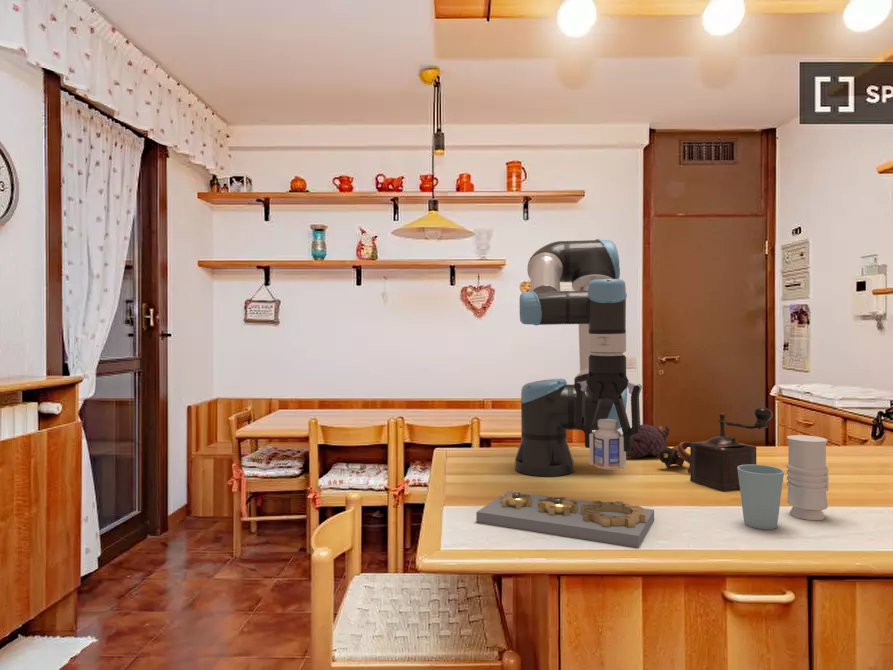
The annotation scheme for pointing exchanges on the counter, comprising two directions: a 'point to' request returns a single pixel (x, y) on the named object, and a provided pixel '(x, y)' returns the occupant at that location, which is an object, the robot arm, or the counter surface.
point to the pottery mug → (675, 455)
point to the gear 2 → (629, 520)
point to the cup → (760, 494)
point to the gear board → (563, 522)
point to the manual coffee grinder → (724, 455)
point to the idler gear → (516, 500)
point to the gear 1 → (557, 506)
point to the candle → (807, 476)
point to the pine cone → (648, 441)
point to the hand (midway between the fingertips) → (607, 464)
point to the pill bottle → (607, 445)
